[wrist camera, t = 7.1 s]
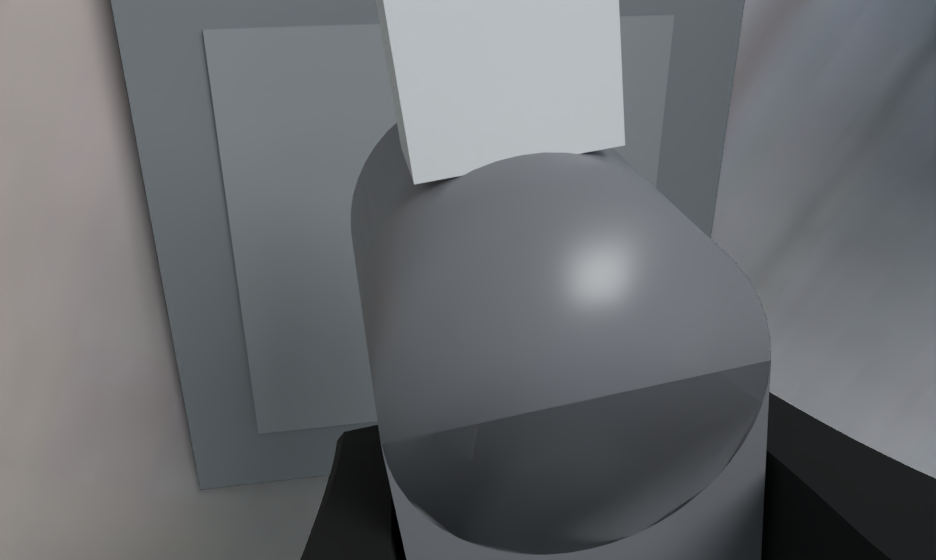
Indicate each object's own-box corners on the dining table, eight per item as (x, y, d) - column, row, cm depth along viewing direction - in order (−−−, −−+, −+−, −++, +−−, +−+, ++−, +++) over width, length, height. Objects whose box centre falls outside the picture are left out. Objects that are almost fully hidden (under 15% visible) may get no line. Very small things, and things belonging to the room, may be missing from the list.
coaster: (740, -71, 17) (757, -68, 16) (673, 420, 22) (684, 436, 22) (106, -62, 15) (98, -58, 14) (202, 473, 20) (199, 492, 20)
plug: (284, -81, 10) (273, -37, 6) (599, -130, 10) (794, -118, 6) (427, 594, 15) (473, 862, 11) (633, 546, 15) (749, 788, 11)
